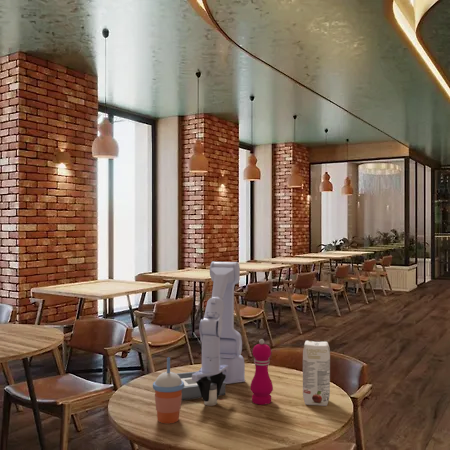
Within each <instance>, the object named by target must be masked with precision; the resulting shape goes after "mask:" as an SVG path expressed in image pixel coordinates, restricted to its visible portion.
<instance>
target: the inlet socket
mask: <svg viewBox="0 0 450 450" xmlns="http://www.w3.org/2000/svg"><path fill="white" fill-rule="evenodd" d="M181 380H182V381H183V382H184V387H186V386H195V385H197V383H196V381H193V380H192V377H191V378H183V379H181Z"/></svg>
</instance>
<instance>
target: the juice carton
mask: <svg viewBox="0 0 450 450" xmlns="http://www.w3.org/2000/svg"><path fill="white" fill-rule="evenodd" d="M303 344H304V345H303V350H302V398H303V401H304V404H305V405H308V406H319V407H321V406H323V407H327V406H328V403H329V401H330V397H331V396H330V395H331V394H330V393H331V391H330V390H331V389H330V388H331V387H330V386H331V350H330V345H329V342H328V341H313V340H305V342H304V343H303Z"/></svg>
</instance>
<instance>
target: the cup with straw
mask: <svg viewBox="0 0 450 450" xmlns="http://www.w3.org/2000/svg"><path fill="white" fill-rule="evenodd" d="M183 388H184V382H183V381H182V380H181V378H180V377H179V375H177V373H176V372H173V371H171V357H170V356H169V357H166V371H164V372H162V373H160V374H159V375H158V376H157V377H156V379H155V381H153V383H152V389H153V390H154V401H155V402H154V403H155V410H156V416H157V417H156V418H157V421H158V422H159V423H160V422H161V424H166V425H167V424H168V425H169V424H174V423H176V422H178V421H179V420H180V413H181V408H182V401H181V399H182V393H181V392H182V389H183Z"/></svg>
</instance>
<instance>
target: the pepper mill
mask: <svg viewBox="0 0 450 450" xmlns="http://www.w3.org/2000/svg"><path fill="white" fill-rule="evenodd" d="M265 342H266V341H265V340H264V339H263V338H261V339H259V341H258V344H256V345H255V344H254V346H253V347H252V351H251V352H252V356H253V364H254V365H255V367H254V368H255V371H254V375H253V377H252V379H251V382H250V392H251V393H252V394H251V402H252V403H253V404H256V405H260V406H261V405H262V406H263V405H269V404H270V403H272V395H271V393H273V391H274V385H273V382H272V379H271V377H270V375H269V374H270V373H269V365H270V357H271V355H272V350H271V347H270V346H269V345H268V344H265Z"/></svg>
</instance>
